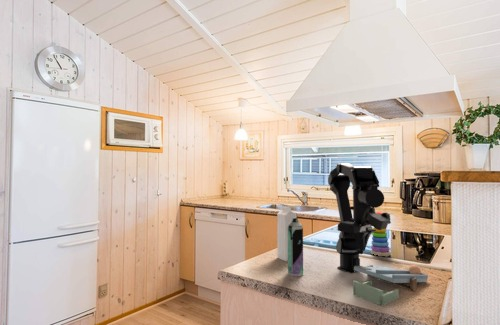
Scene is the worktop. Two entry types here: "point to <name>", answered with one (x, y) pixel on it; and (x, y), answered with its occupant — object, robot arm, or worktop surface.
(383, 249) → the stacking toy
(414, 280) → the stand
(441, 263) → the worktop surface
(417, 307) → the worktop surface
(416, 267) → the ball
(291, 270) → the spray can
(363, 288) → the tray
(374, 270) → the grey flat rectangular piece
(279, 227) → the milk
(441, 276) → the worktop surface
